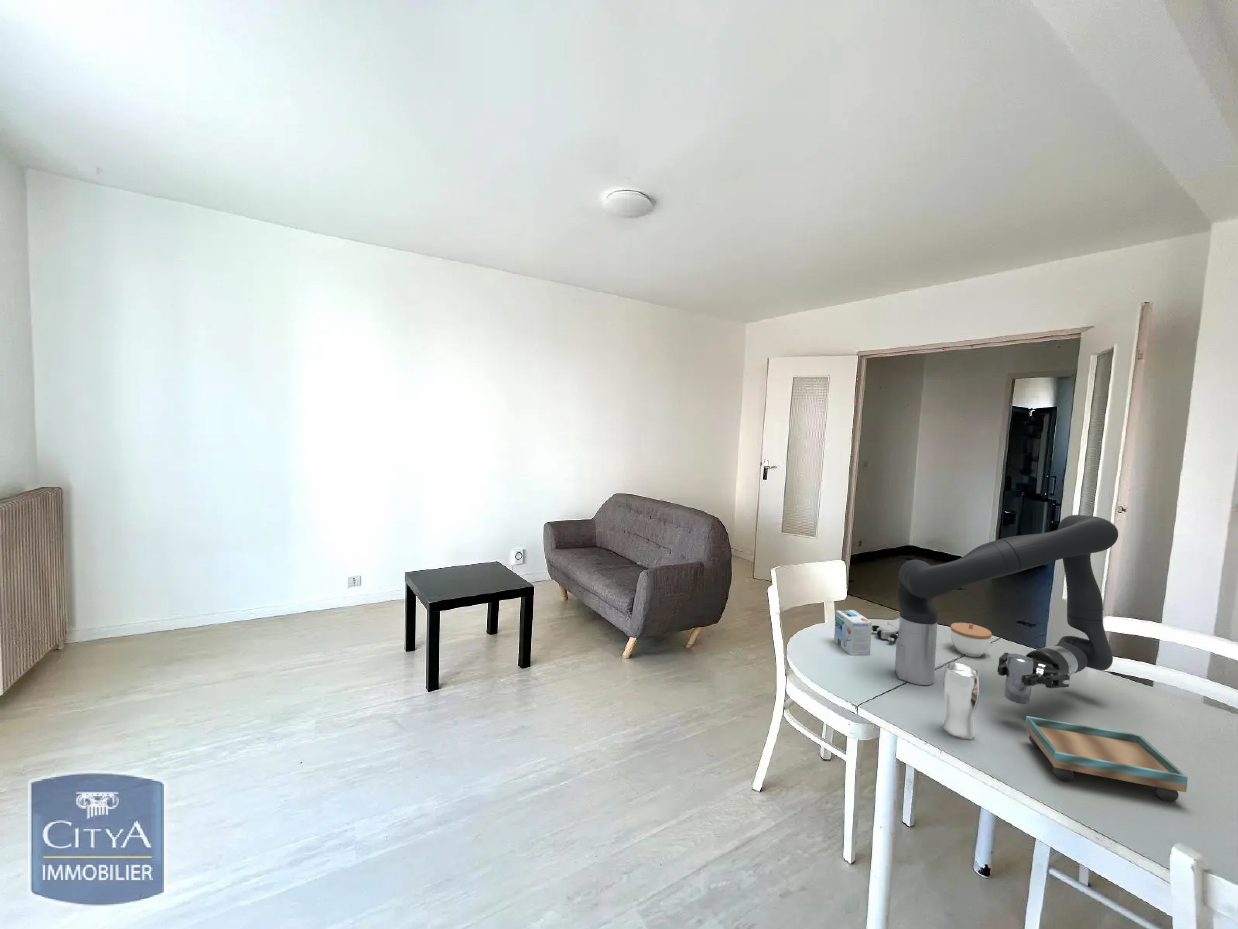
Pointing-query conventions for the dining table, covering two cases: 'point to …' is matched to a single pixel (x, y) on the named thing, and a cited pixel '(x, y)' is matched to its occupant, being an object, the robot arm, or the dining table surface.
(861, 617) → the light bulb box
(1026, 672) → the metal part
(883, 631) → the robot toy
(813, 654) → the dining table surface
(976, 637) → the lidded jar
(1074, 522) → the robot arm
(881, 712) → the dining table surface
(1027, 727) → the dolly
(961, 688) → the beer glass
